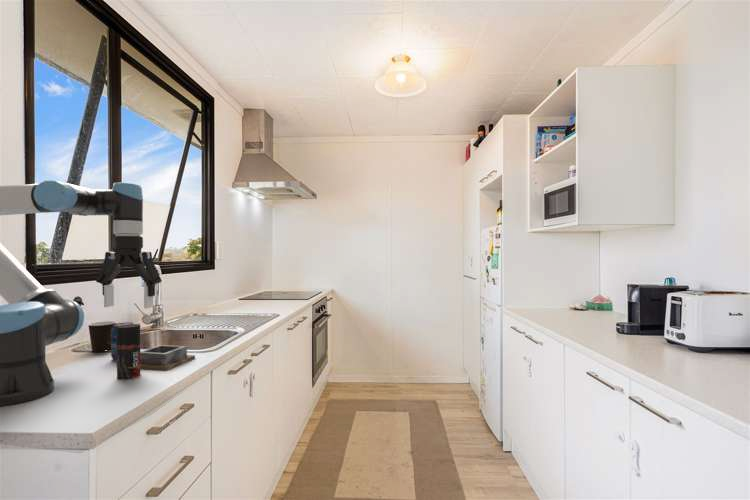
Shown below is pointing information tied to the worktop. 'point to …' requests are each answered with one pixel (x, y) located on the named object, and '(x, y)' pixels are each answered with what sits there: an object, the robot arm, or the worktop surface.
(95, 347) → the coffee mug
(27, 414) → the worktop surface
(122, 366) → the deodorant
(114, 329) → the soda can
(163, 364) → the socket
